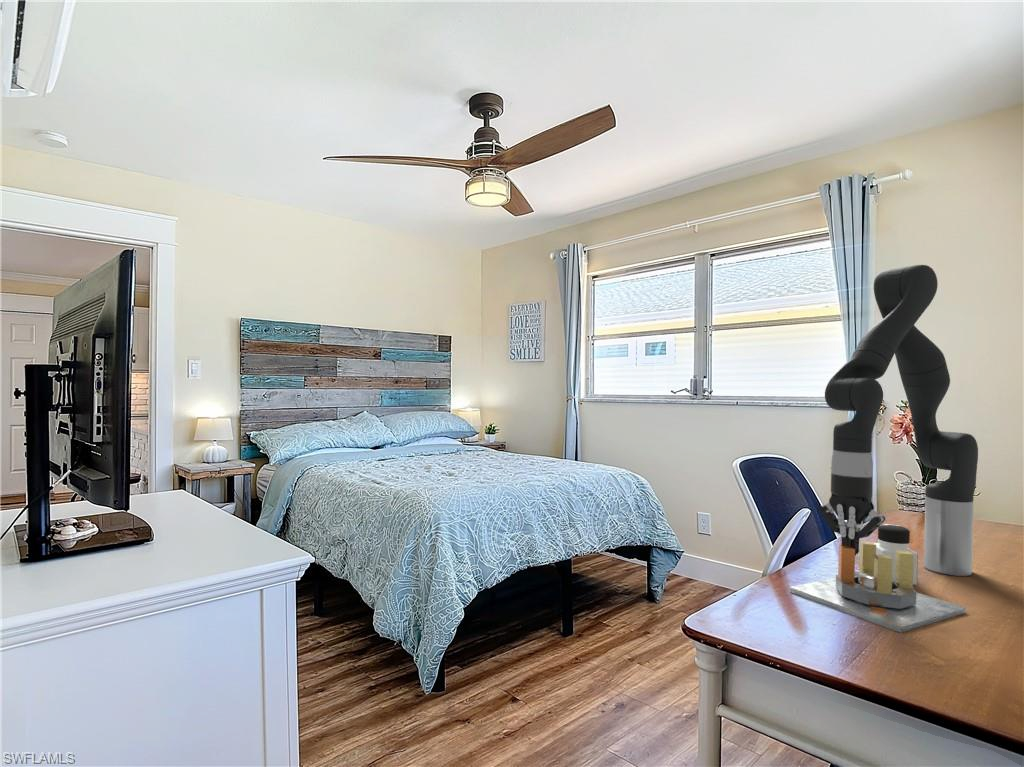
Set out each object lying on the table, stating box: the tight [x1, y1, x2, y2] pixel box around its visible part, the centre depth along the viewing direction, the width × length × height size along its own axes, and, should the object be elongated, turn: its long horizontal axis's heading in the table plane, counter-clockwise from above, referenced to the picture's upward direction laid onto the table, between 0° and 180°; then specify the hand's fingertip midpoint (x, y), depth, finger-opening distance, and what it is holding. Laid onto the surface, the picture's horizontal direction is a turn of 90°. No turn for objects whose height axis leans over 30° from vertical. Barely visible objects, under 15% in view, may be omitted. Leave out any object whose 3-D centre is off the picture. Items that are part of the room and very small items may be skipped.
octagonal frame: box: [835, 540, 917, 609], centre depth 116 cm, size 13×13×9 cm
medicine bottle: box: [873, 523, 919, 586], centre depth 131 cm, size 7×7×12 cm
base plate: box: [789, 572, 967, 634], centre depth 116 cm, size 22×22×5 cm
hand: (849, 555), depth 120 cm, fingers closed
